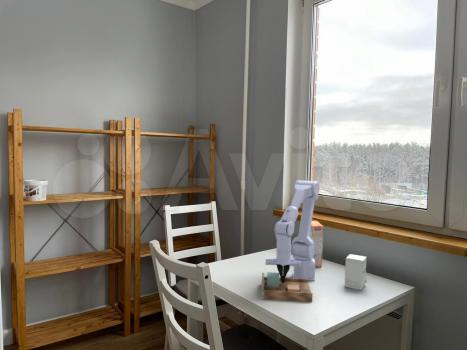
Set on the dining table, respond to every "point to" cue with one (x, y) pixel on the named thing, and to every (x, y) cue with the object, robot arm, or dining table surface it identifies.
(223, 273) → the dining table surface
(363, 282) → the supplement box
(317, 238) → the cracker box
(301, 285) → the brown wooden tray
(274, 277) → the teal block
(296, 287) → the clay block
